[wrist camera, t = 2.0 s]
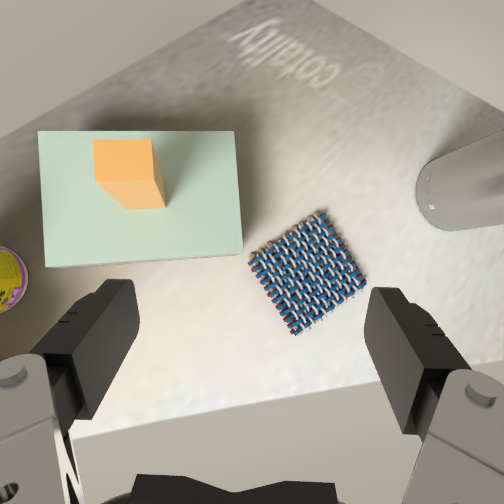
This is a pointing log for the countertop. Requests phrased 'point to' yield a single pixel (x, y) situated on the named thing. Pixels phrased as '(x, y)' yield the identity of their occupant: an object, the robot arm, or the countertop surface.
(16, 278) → the supplement bottle
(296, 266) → the woven mat
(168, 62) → the countertop surface
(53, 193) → the lid
